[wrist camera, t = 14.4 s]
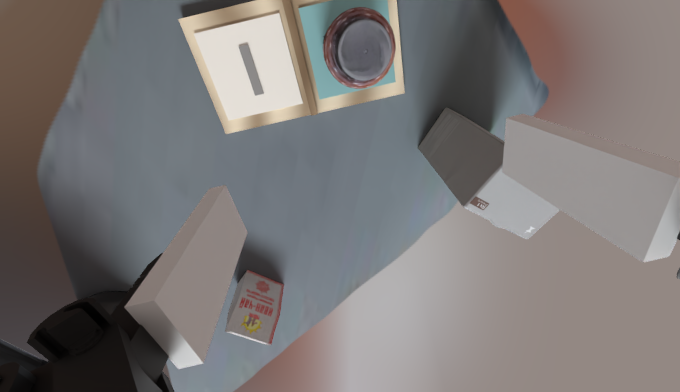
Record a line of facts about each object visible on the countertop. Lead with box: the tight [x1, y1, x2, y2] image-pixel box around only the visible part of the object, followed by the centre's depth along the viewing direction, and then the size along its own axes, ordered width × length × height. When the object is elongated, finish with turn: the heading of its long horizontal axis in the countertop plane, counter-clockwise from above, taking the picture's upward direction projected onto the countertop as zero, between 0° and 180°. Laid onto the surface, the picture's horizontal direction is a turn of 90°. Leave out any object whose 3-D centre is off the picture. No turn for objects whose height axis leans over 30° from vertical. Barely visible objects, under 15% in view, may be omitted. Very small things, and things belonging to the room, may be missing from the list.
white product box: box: [225, 270, 284, 346], centre depth 43 cm, size 4×7×10 cm, turn 55°
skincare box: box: [418, 108, 560, 239], centre depth 31 cm, size 8×7×16 cm
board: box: [178, 0, 405, 134], centre depth 31 cm, size 22×12×2 cm, turn 102°
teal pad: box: [298, 0, 396, 99], centre depth 30 cm, size 9×9×1 cm
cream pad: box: [194, 13, 303, 121], centre depth 30 cm, size 9×9×1 cm
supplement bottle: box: [323, 7, 396, 89], centre depth 25 cm, size 6×6×11 cm
